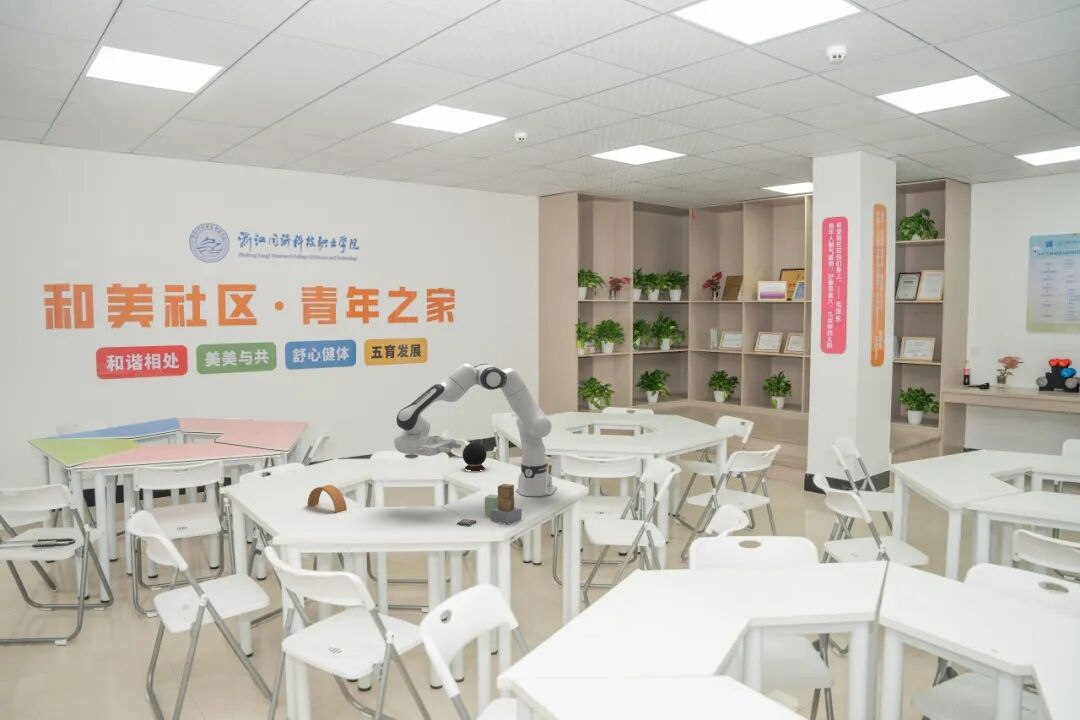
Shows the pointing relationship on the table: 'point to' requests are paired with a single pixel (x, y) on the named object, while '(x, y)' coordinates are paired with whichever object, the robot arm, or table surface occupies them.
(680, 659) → the table surface
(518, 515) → the slate base block
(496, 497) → the sage green block
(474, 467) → the snow globe
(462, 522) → the card
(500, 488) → the walnut block
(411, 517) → the table surface
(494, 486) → the table surface
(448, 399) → the robot arm
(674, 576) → the table surface
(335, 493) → the orange brown arch
